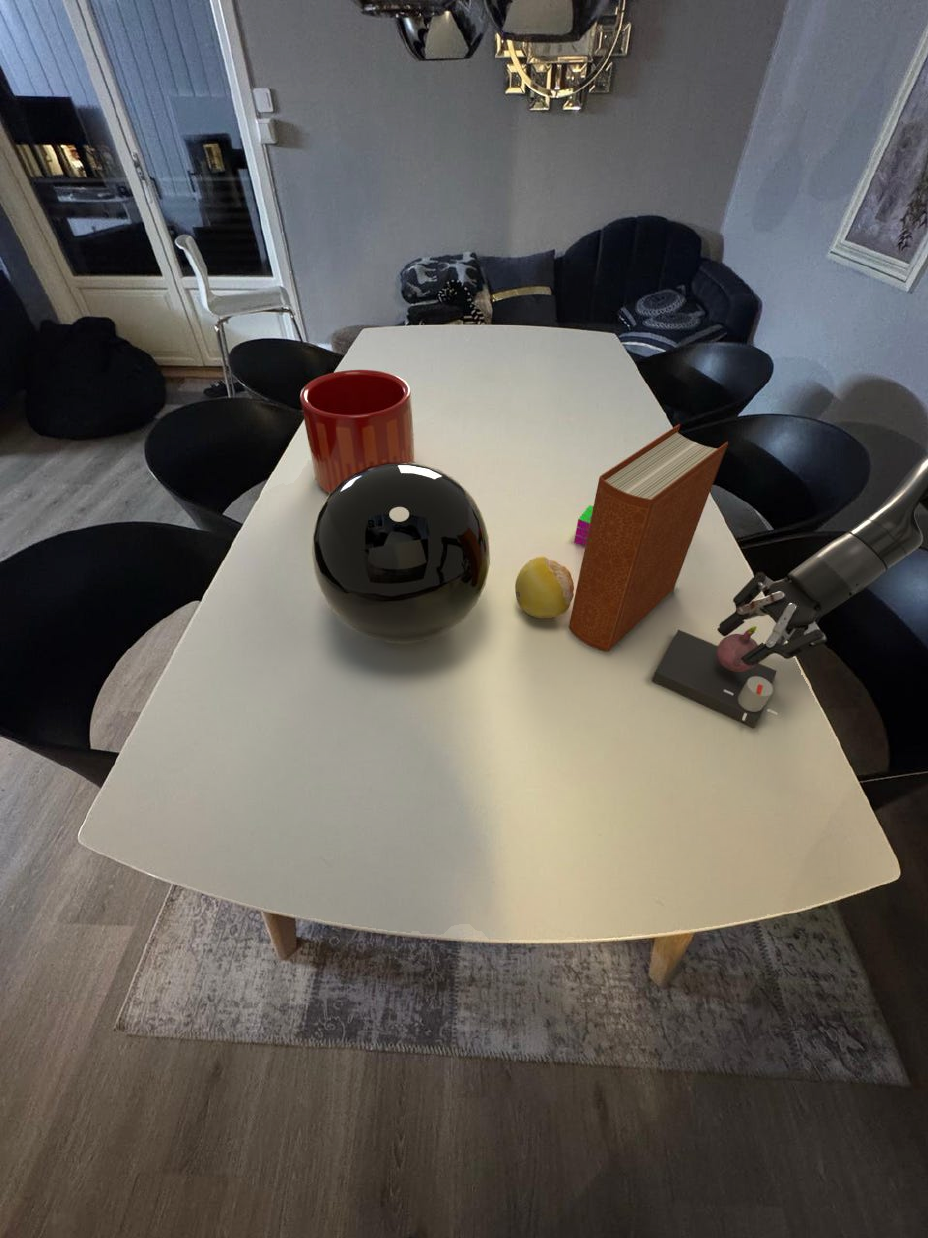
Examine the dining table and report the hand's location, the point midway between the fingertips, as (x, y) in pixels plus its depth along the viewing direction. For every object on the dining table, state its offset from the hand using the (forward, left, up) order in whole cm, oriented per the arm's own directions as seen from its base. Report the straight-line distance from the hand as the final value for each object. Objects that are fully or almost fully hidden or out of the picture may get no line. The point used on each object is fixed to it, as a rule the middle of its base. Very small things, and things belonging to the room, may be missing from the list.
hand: (732, 647), depth 85 cm
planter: (+86, -15, -8) cm, 88 cm away
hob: (0, +1, -8) cm, 8 cm away
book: (+19, -7, -8) cm, 22 cm away
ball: (+50, +16, -8) cm, 53 cm away
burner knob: (-6, +3, -6) cm, 9 cm away
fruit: (+31, +1, -8) cm, 32 cm away
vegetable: (-1, -1, -6) cm, 6 cm away
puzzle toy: (+32, -23, -8) cm, 40 cm away
